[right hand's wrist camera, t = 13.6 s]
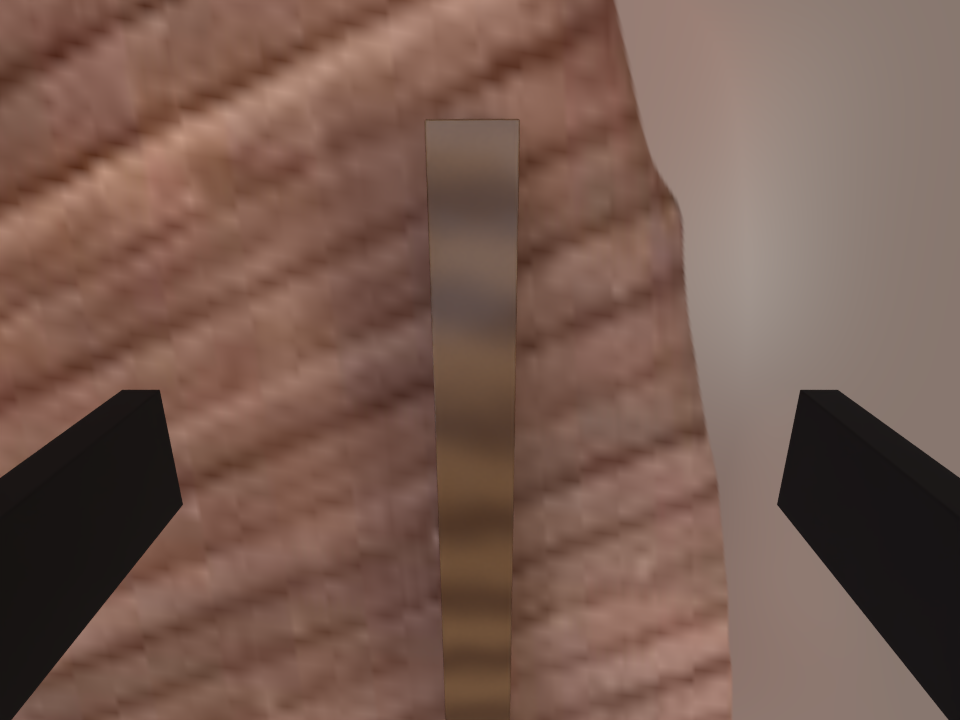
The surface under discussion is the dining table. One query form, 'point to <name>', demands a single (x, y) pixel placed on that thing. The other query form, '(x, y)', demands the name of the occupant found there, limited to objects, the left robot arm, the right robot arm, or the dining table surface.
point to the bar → (474, 400)
